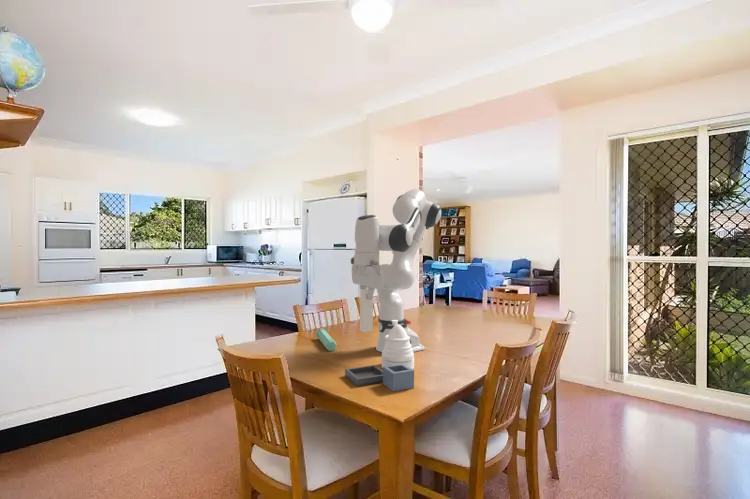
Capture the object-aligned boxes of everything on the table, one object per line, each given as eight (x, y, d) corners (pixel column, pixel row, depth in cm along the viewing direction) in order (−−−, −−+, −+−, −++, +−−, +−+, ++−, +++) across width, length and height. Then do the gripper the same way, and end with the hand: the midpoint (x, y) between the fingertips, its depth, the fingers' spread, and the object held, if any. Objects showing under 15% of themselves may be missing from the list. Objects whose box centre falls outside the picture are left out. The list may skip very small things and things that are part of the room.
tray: (374, 371, 151) (374, 365, 151) (388, 381, 140) (389, 374, 140) (345, 375, 146) (345, 369, 145) (357, 386, 135) (357, 379, 135)
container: (335, 338, 179) (324, 326, 202) (323, 344, 177) (314, 331, 201) (340, 349, 179) (329, 336, 203) (328, 355, 178) (318, 341, 201)
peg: (368, 329, 144) (369, 288, 144) (372, 331, 141) (373, 289, 141) (359, 330, 143) (360, 288, 143) (363, 332, 140) (364, 290, 140)
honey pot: (375, 365, 158) (375, 320, 158) (399, 359, 166) (399, 317, 166) (395, 374, 148) (396, 326, 148) (420, 367, 156) (421, 322, 155)
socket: (402, 380, 141) (402, 363, 141) (414, 388, 134) (414, 370, 134) (382, 383, 137) (382, 366, 137) (393, 391, 130) (393, 373, 130)
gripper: (387, 261, 134) (387, 302, 134) (364, 259, 152) (364, 294, 153) (370, 261, 131) (370, 303, 131) (348, 259, 150) (348, 295, 150)
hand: (367, 298), depth 142 cm, fingers closed on peg, 3 cm apart
